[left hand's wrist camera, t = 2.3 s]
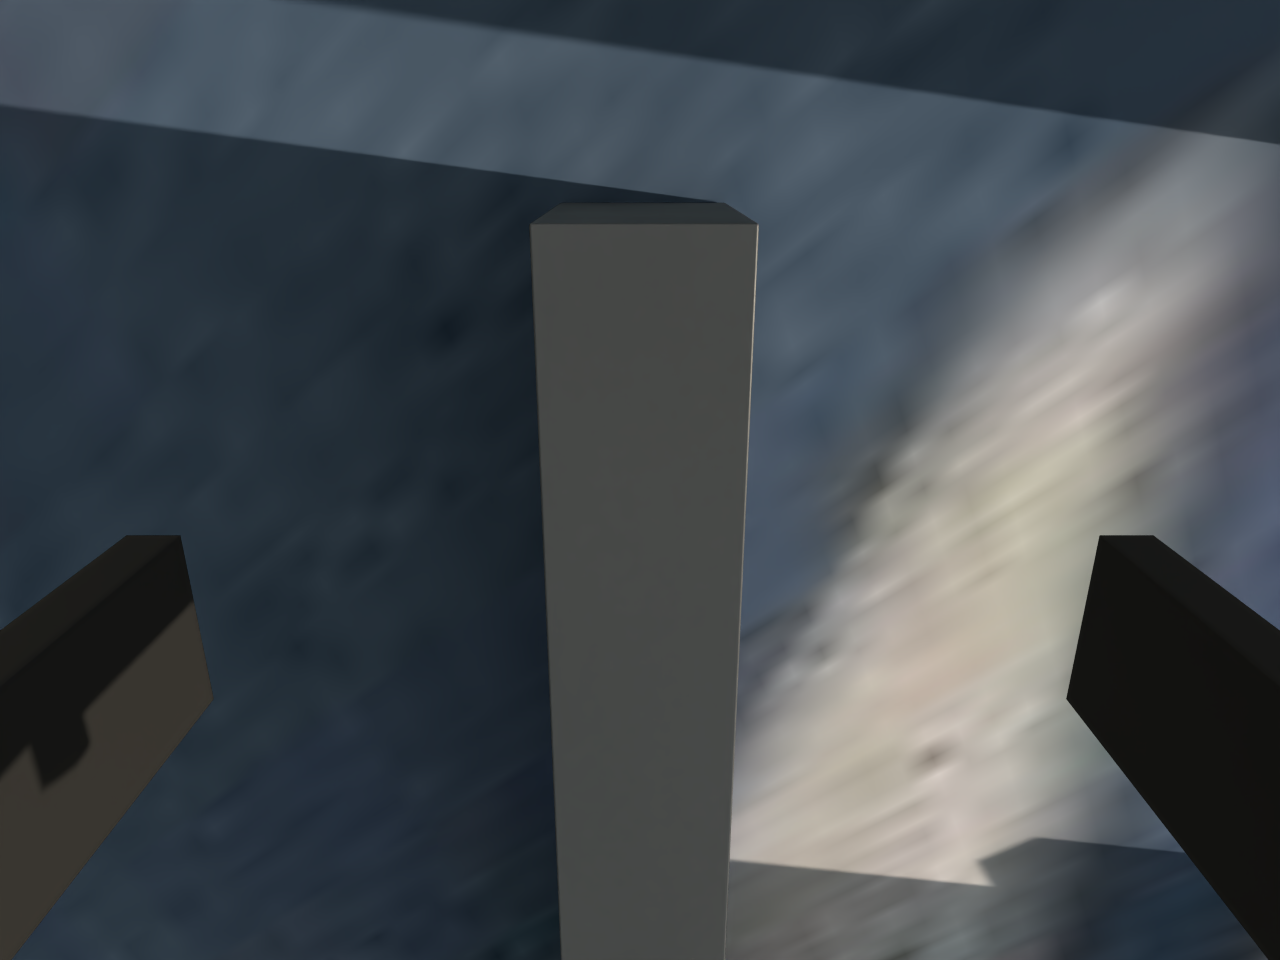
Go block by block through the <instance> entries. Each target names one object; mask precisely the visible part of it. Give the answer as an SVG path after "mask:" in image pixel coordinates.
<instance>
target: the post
mask: <svg viewBox="0 0 1280 960" xmlns="http://www.w3.org/2000/svg"><path fill="white" fill-rule="evenodd" d="M529 229H530V253H531V276H532V299H533V322H534V345H535V369H536V392H537V415H538V438H539V461H540V485H541V508H542V531H543V554H544V577H545V601H546V624H547V647H548V670H549V693H550V717H551V740H552V763H553V786H554V809H555V833H556V856H557V879H558V902H559V925H560V949H561V960H725V946H726V924H727V903H728V881H729V859H730V838H731V816H732V795H733V773H734V751H735V730H736V708H737V686H738V665H739V643H740V622H741V600H742V578H743V557H744V535H745V513H746V492H747V470H748V448H749V427H750V405H751V384H752V362H753V340H754V319H755V297H756V275H757V254H758V232H759V225H758V224H757V223H756V222H754V221H753V220H751V219H750V218H748V217H746V216H745V215H743V214H742V213H740V212H738V211H737V210H735V209H734V208H732V207H731V206H729V205H727V204H726V203H560V204H559V205H557V206H556V207H554V208H553V209H551V210H550V211H548V212H547V213H545V214H544V215H542V216H541V217H539V218H538V219H537V220H535V221H534V222H532V223H531V224H530V225H529Z"/></svg>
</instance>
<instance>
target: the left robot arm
mask: <svg viewBox="0 0 1280 960" xmlns="http://www.w3.org/2000/svg"><path fill="white" fill-rule="evenodd" d="M213 699H214V698H213V693H212V689H211V684H210V679H209V674H208V669H207V664H206V659H205V654H204V649H203V644H202V639H201V635H200V630H199V625H198V620H197V615H196V610H195V605H194V600H193V595H192V590H191V585H190V580H189V576H188V571H187V566H186V561H185V556H184V551H183V546H182V541H181V536H180V535H127V536H125V537H124V538H123V539H121V540H120V541H119V542H117V543H116V544H115V545H113V546H112V547H111V548H109V549H108V550H107V551H105V552H104V553H103V554H101V555H100V556H99V557H97V558H96V559H95V560H93V561H92V562H91V563H89V564H88V565H87V566H85V567H84V568H83V569H81V570H80V571H79V572H77V573H76V574H75V575H73V576H72V577H71V578H69V579H68V580H67V581H65V582H64V583H63V584H61V585H60V586H59V587H58V588H56V589H55V590H54V591H52V592H51V593H50V594H48V595H47V596H46V597H44V598H43V599H42V600H40V601H39V602H38V603H36V604H35V605H34V606H32V607H31V608H30V609H28V610H27V611H26V612H24V613H23V614H22V615H20V616H19V617H18V618H16V619H15V620H14V621H12V622H11V623H10V624H8V625H7V626H6V627H4V628H3V629H2V630H0V960H12V958H13V957H14V956H15V954H16V953H17V952H18V951H19V949H20V948H21V947H22V945H23V944H24V943H25V942H26V940H27V939H28V938H29V936H30V935H31V934H32V932H33V931H34V930H35V929H36V927H37V926H38V925H39V923H40V922H41V921H42V920H43V918H44V917H45V916H46V914H47V913H48V912H49V911H50V909H51V908H52V907H53V905H54V904H55V903H56V902H57V900H58V899H59V898H60V896H61V895H62V894H63V893H64V891H65V890H66V889H67V887H68V886H69V885H70V884H71V882H72V881H73V880H74V878H75V877H76V876H77V874H78V873H79V872H80V871H81V869H82V868H83V867H84V865H85V864H86V863H87V862H88V860H89V859H90V858H91V856H92V855H93V854H94V853H95V851H96V850H97V849H98V847H99V846H100V845H101V844H102V842H103V841H104V840H105V838H106V837H107V836H108V835H109V833H110V832H111V831H112V829H113V828H114V827H115V825H116V824H117V823H118V822H119V820H120V819H121V818H122V816H123V815H124V814H125V813H126V811H127V810H128V809H129V807H130V806H131V805H132V804H133V802H134V801H135V800H136V798H137V797H138V796H139V795H140V793H141V792H142V791H143V789H144V788H145V787H146V786H147V784H148V783H149V782H150V780H151V779H152V778H153V777H154V775H155V774H156V773H157V771H158V770H159V769H160V767H161V766H162V765H163V764H164V762H165V761H166V760H167V758H168V757H169V756H170V755H171V753H172V752H173V751H174V749H175V748H176V747H177V746H178V744H179V743H180V742H181V740H182V739H183V738H184V737H185V735H186V734H187V733H188V731H189V730H190V729H191V728H192V726H193V725H194V724H195V722H196V721H197V720H198V718H199V717H200V716H201V715H202V713H203V712H204V711H205V709H206V708H207V707H208V706H209V704H210V703H211V702H212V700H213ZM1066 699H1067V700H1068V702H1069V703H1070V704H1071V706H1072V707H1073V708H1074V709H1075V711H1076V712H1077V713H1078V715H1079V716H1080V717H1081V718H1082V720H1083V721H1084V722H1085V724H1086V725H1087V726H1088V728H1089V729H1090V730H1091V731H1092V733H1093V734H1094V735H1095V737H1096V738H1097V739H1098V740H1099V742H1100V743H1101V744H1102V746H1103V747H1104V748H1105V749H1106V751H1107V752H1108V753H1109V755H1110V756H1111V757H1112V758H1113V760H1114V761H1115V762H1116V764H1117V765H1118V766H1119V767H1120V769H1121V770H1122V771H1123V773H1124V774H1125V775H1126V777H1127V778H1128V779H1129V780H1130V782H1131V783H1132V784H1133V786H1134V787H1135V788H1136V789H1137V791H1138V792H1139V793H1140V795H1141V796H1142V797H1143V798H1144V800H1145V801H1146V802H1147V804H1148V805H1149V806H1150V807H1151V809H1152V810H1153V811H1154V813H1155V814H1156V815H1157V816H1158V818H1159V819H1160V820H1161V822H1162V823H1163V824H1164V825H1165V827H1166V828H1167V829H1168V831H1169V832H1170V833H1171V835H1172V836H1173V837H1174V838H1175V840H1176V841H1177V842H1178V844H1179V845H1180V846H1181V847H1182V849H1183V850H1184V851H1185V853H1186V854H1187V855H1188V856H1189V858H1190V859H1191V860H1192V862H1193V863H1194V864H1195V865H1196V867H1197V868H1198V869H1199V871H1200V872H1201V873H1202V874H1203V876H1204V877H1205V878H1206V880H1207V881H1208V882H1209V884H1210V885H1211V886H1212V887H1213V889H1214V890H1215V891H1216V893H1217V894H1218V895H1219V896H1220V898H1221V899H1222V900H1223V902H1224V903H1225V904H1226V905H1227V907H1228V908H1229V909H1230V911H1231V912H1232V913H1233V914H1234V916H1235V917H1236V918H1237V920H1238V921H1239V922H1240V923H1241V925H1242V926H1243V927H1244V929H1245V930H1246V931H1247V932H1248V934H1249V935H1250V936H1251V938H1252V939H1253V940H1254V942H1255V943H1256V944H1257V945H1258V947H1259V948H1260V949H1261V951H1262V952H1263V953H1264V954H1265V956H1266V957H1267V958H1268V960H1280V630H1278V629H1277V628H1276V627H1274V626H1273V625H1272V624H1270V623H1269V622H1268V621H1266V620H1265V619H1264V618H1262V617H1261V616H1260V615H1258V614H1257V613H1256V612H1254V611H1253V610H1252V609H1250V608H1249V607H1248V606H1246V605H1245V604H1244V603H1242V602H1241V601H1240V600H1238V599H1237V598H1236V597H1234V596H1233V595H1232V594H1230V593H1229V592H1228V591H1226V590H1225V589H1224V588H1222V587H1221V586H1220V585H1219V584H1217V583H1216V582H1215V581H1213V580H1212V579H1211V578H1209V577H1208V576H1207V575H1205V574H1204V573H1203V572H1201V571H1200V570H1199V569H1197V568H1196V567H1195V566H1193V565H1192V564H1191V563H1189V562H1188V561H1187V560H1185V559H1184V558H1183V557H1181V556H1180V555H1179V554H1177V553H1176V552H1175V551H1173V550H1172V549H1171V548H1169V547H1168V546H1167V545H1165V544H1164V543H1163V542H1161V541H1160V540H1159V539H1157V538H1156V537H1155V536H1153V535H1100V536H1099V541H1098V546H1097V551H1096V556H1095V561H1094V566H1093V571H1092V576H1091V580H1090V585H1089V590H1088V595H1087V600H1086V605H1085V610H1084V615H1083V620H1082V625H1081V630H1080V635H1079V639H1078V644H1077V649H1076V654H1075V659H1074V664H1073V669H1072V674H1071V679H1070V684H1069V689H1068V693H1067V698H1066Z"/></svg>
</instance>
